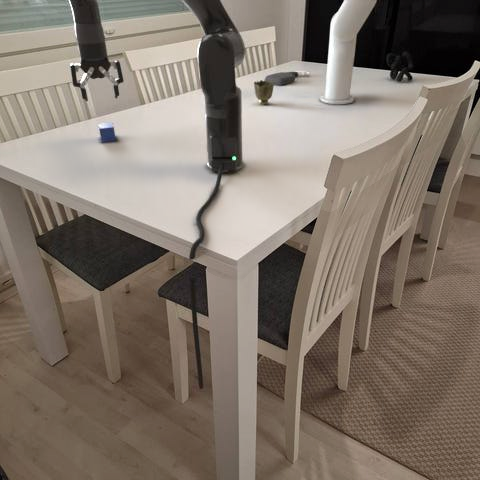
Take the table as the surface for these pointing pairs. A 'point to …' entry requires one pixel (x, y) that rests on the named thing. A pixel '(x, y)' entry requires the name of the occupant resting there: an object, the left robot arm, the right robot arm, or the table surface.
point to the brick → (107, 132)
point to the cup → (263, 91)
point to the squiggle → (399, 66)
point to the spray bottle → (284, 77)
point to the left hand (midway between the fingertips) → (101, 99)
